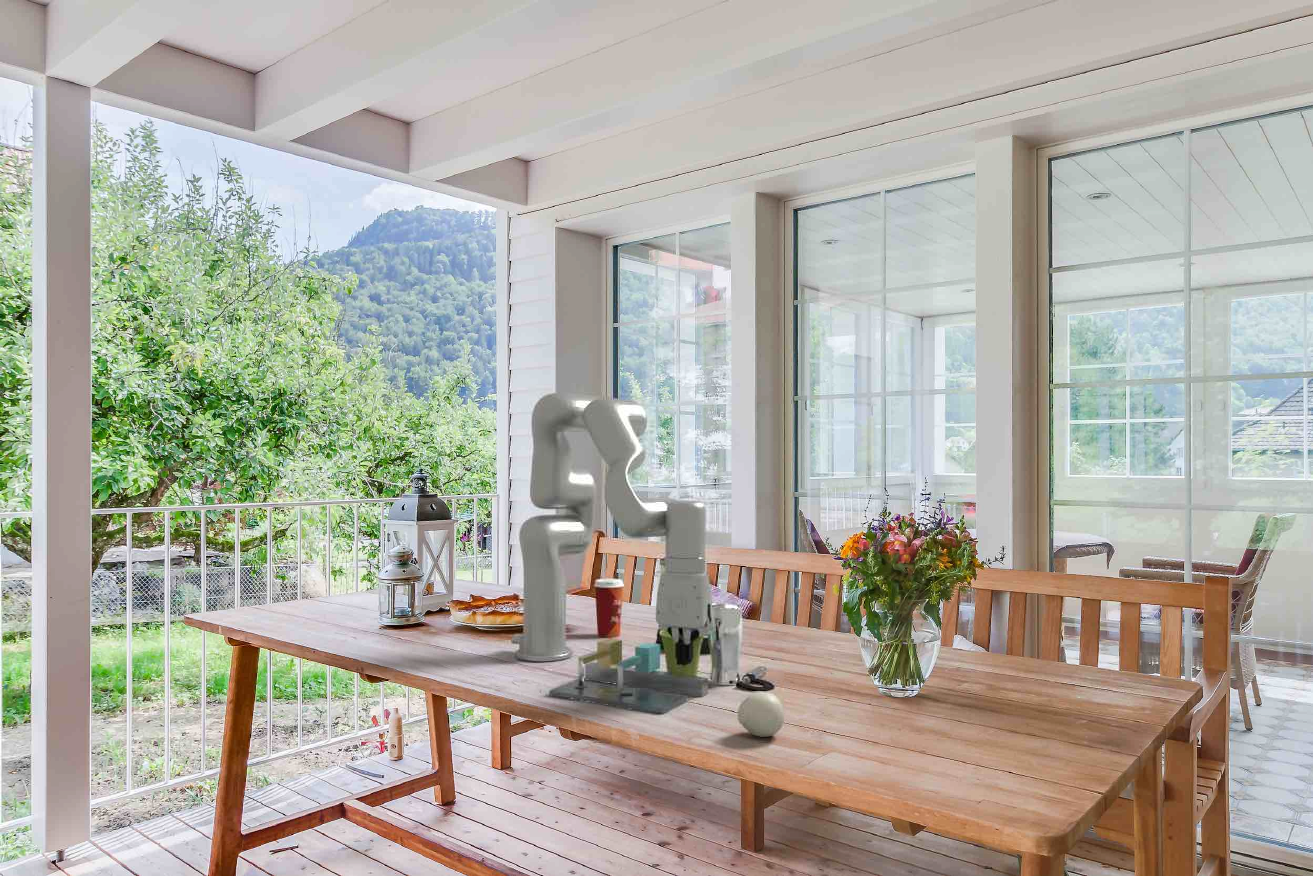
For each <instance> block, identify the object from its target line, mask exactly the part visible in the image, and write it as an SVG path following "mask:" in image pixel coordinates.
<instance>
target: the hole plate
mask: <svg viewBox="0 0 1313 876" xmlns="http://www.w3.org/2000/svg"><path fill="white" fill-rule="evenodd" d="M549 695H552V696H551V697H554V696H558V697H557V698H560V697H566V698H573V699H576V700H575V701H578V700H583V701H582V702H584V701H589V702H588V703H591V702H595V703H594V704H597V703H600V704H599V705H603V704H608V705H607V706H609V705H613V706H612V707H615V706H619V707H618V708H621V707H624V708H623V709H627V708H631V709H630V710H634V711H635V710H636V711H641V712H646V711H647V712H646V713H654V714H658V713H660V714H659V715H664V714H666V713H668V712H670V711H672V710H673V708H674V709H675V707H676V708H678V707H679V705H680V706H681V704H682V705H683V704H685V703H687V702H688V696H687V695H683V694H677V693H670V692H663V691H657V690H650V689H643V688H636V687H630V686H623V692H618V685H616V684H609V683H603V682H596V681H589V680H584V686H578V679H576V680H573V681H570V682H568V683H565V684H562V685H560V686H557V687H555V688H552V689H549ZM566 698H565V699H566ZM677 706H678V707H677Z"/></svg>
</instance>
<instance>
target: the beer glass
mask: <svg viewBox="0 0 1313 876" xmlns="http://www.w3.org/2000/svg"><path fill="white" fill-rule="evenodd" d="M742 614H743V613H742V606H741V604H739V603H738V604H737V603H731V602H722V603H721V602H716V603H712V622H711V624H710V627H711V633H710V634H708V642H709V648H710V653H711V654H710V659H711V661H710V662H711V670H710V675H709V682H710V684H712V685H715V686H723V685H724V687H725V686H727V685H729V686H736V683H738V682H740V681H741V678H740V677H741V676H740V671H739V657H740V652H741V651H740V650H741V644H742V637H743V615H742Z"/></svg>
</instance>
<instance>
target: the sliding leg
mask: <svg viewBox="0 0 1313 876" xmlns="http://www.w3.org/2000/svg"><path fill="white" fill-rule="evenodd" d="M634 650H635V651H634V652H635V653H634V654H635V655H634V656H631V657H628V658H626V659H622V661H620V662H618V684H617V686H618V692H623V687H624V685H623V670H624V669H627V668H629V667H632V668H633V667H634V668H635V671H638V672H645V673H650V672H652V671H658V670H659V669H661V646H660V644H656V643H651V642H646V643H643V644H640V645H637V646H635V649H634Z"/></svg>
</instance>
